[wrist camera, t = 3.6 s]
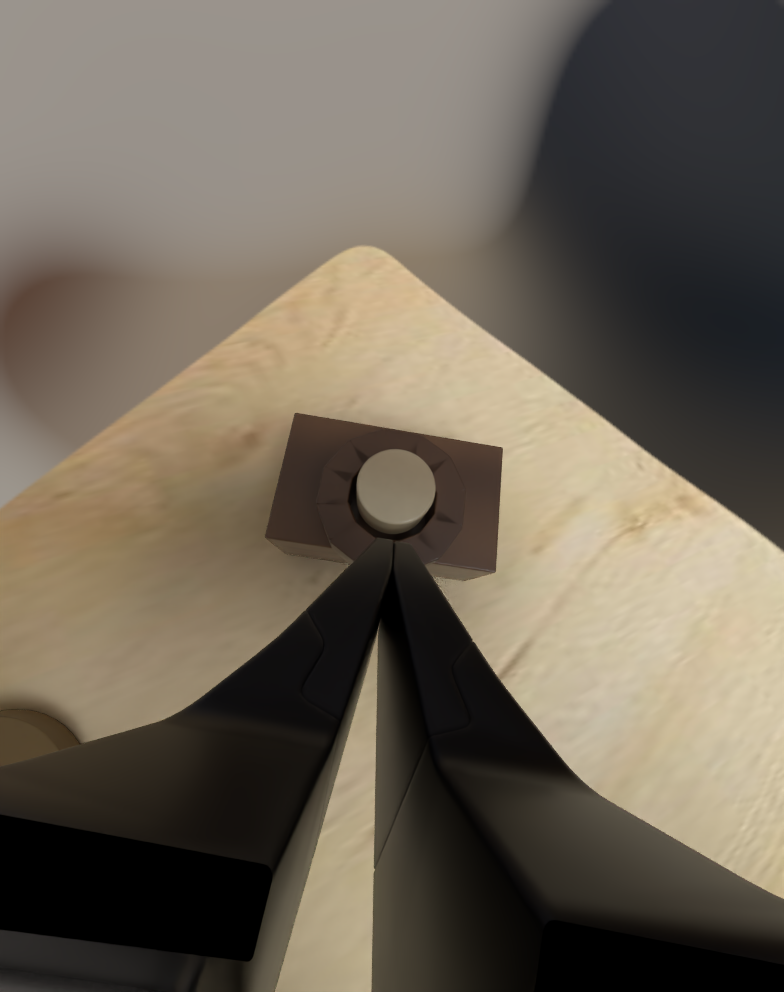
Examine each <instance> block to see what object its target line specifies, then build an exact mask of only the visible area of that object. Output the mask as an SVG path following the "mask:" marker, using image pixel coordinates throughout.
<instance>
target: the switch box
mask: <svg viewBox="0 0 784 992" xmlns="http://www.w3.org/2000/svg"><path fill="white" fill-rule="evenodd" d="M390 449H400V450H405V451H409V452H411V453H413V454H415V455H417V456H418V457H420V458H421V459H422V460H423V461H424V462H425V463H426V464H427V465H428V466H429V468H430V469H431V471H432V473H433V476H434V479H435V485H436V492H435V497H434V500H433V503H432V505H431V507H430V508H429V510H428V511H427V513H426V514H425V515H424V517H423V518H422V519H421V521H420V522H419V523H418V524H417V525H416V526H415V527H414V528H412V529H410V530H408V531H406V532H403V533H399V534H386V533H382V532H379V531H377V530H375V529H373V528H372V527H370V526H369V525H368V524H367V523H366V522H365V521H364V520H363V518H362V517H361V515H360V513H359V510H358V507H357V478H358V474H359V472H360V469H361V468H362V466H363V465H364V463H365V462H366V461H367V460H368V459H369V458H370V457H372V456H373V455H375V454H377V453H379V452H381V451H385V450H390ZM502 453H503V448H501V447H496V446H490V445H484V444H478V443H472V442H466V441H460V440H454V439H448V438H442V437H436V436H430V435H424V434H418V433H412V432H406V431H401V430H395V429H389V428H383V427H377V426H371V425H365V424H359V423H353V422H347V421H341V420H335V419H329V418H323V417H317V416H311V415H305V414H299V413H295V414H294V418H293V422H292V427H291V431H290V435H289V439H288V443H287V447H286V451H285V456H284V460H283V464H282V468H281V472H280V476H279V480H278V484H277V489H276V493H275V497H274V501H273V505H272V509H271V513H270V517H269V522H268V526H267V530H266V534H265V538H266V539H268V540H269V541H270V542H271V543H273V544H274V545H275V546H276V547H278V548H279V549H280V550H281V551H283V552H284V553H285V554H290V555H296V556H303V557H310V558H316V559H323V560H329V561H336V562H343V563H349V564H350V565H351V564H352V563H353V562H354V561H355V560H356V559H357V558H358V557H359V556H360V555H361V554H362V553H363V552H364V551H365V550H366V548H367V547H368V546H369V545H370V544H371V543H372V542H373V541H374V540H375V539H377V538H383V539H389V540H392V541H393V542H396V541H399V542H404V543H409V544H411V545H412V546H413V548H414V549H415V551H416V552H417V554H418V556H419V557H420V559H421V560H422V562H423V563H424V565H425V566H426V568H427V570H428V571H429V573H430V574H431V576H435V577H442V578H449V579H455V580H462V581H466V580H470V579H474V578H477V577H481V576H485V575H489V574H492V573H495V572H496V559H497V541H498V523H499V506H500V488H501V471H502Z"/></svg>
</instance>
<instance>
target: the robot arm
mask: <svg viewBox="0 0 784 992" xmlns="http://www.w3.org/2000/svg"><path fill="white" fill-rule="evenodd" d="M378 627H379V631H378ZM377 631H378V670H377V725H376V779H375V834H374V869H375V871H374V884H373V940H372V992H784V899H782V898H780V897H778V896H776V895H774V894H772V893H770V892H768V891H766V890H764V889H762V888H760V887H758V886H756V885H755V884H753V883H751V882H749V881H747V880H745V879H744V878H742V877H740V876H738V875H737V874H735V873H733V872H731V871H730V870H728V869H726V868H724V867H723V866H721V865H719V864H718V863H716V862H714V861H712V860H711V859H709V858H707V857H705V856H704V855H702V854H700V853H698V852H697V851H695V850H693V849H692V848H690V847H688V846H686V845H685V844H683V843H681V842H679V841H678V840H676V839H674V838H672V837H671V836H669V835H667V834H666V833H664V832H662V831H660V830H659V829H657V828H655V827H653V826H652V825H650V824H648V823H646V822H645V821H643V820H641V819H640V818H638V817H636V816H634V815H633V814H631V813H629V812H627V811H626V810H624V809H622V808H620V807H619V806H617V805H615V804H614V803H612V802H610V801H608V800H607V799H605V798H604V797H602V796H600V795H599V794H598V793H596V792H595V791H594V790H592V789H591V788H590V787H589V786H588V785H586V784H585V783H584V782H583V781H582V780H581V779H580V778H579V777H578V776H577V775H576V774H575V773H574V772H573V771H572V770H571V769H570V768H569V767H568V765H567V764H566V763H565V762H564V761H563V760H562V758H561V757H560V756H559V755H558V753H557V752H556V751H555V750H554V748H553V747H552V746H551V745H550V743H549V742H548V741H547V740H546V738H545V737H544V736H543V734H542V733H541V732H540V731H539V729H538V728H537V727H536V726H535V724H534V723H533V722H532V721H531V719H530V718H529V717H528V716H527V714H526V713H525V712H524V711H523V709H522V708H521V707H520V706H519V704H518V703H517V702H516V700H515V699H514V698H513V697H512V695H511V694H510V693H509V691H508V690H507V689H506V687H505V686H504V685H503V683H502V682H501V681H500V679H499V678H498V677H497V675H496V674H495V672H494V671H493V670H492V668H491V667H490V665H489V664H488V662H487V661H486V659H485V658H484V656H483V655H482V653H481V652H480V650H479V649H478V647H477V646H476V644H475V643H474V642H472V638H471V636H470V635H469V633H468V632H467V630H466V629H465V627H464V626H463V624H462V622H461V621H460V619H459V618H458V616H457V615H456V613H455V612H454V610H453V608H452V607H451V605H450V604H449V602H448V601H447V599H446V598H445V596H444V594H443V593H442V591H441V590H440V588H439V587H438V585H437V584H436V582H435V580H434V579H433V577H432V576H431V574H430V573H429V571H428V570H427V568H426V566H425V565H424V563H423V562H422V560H421V559H420V557H419V556H418V554H417V552H416V551H415V549H414V548H413V546H412V545H411V544H409V543H404V542H399V541H396V542H393V541H392V540H389V539H383V538H377V539H375V540H374V541H373V542H372V543H371V544H370V545H369V546H368V547H367V548H366V550H365V551H364V552H363V553H362V554H361V555H360V556H359V557H358V558H357V559H356V560H355V561H354V562H353V563H352V564H351V565H350V566H349V567H348V568H347V569H346V570H345V571H344V572H343V573H342V574H341V575H340V576H339V577H338V578H337V579H336V580H335V581H334V582H333V583H332V584H331V585H330V586H329V587H328V588H327V589H326V590H325V591H324V592H323V593H322V594H321V595H320V596H319V597H318V598H317V599H316V600H315V601H314V602H313V603H312V604H311V605H310V606H309V607H308V608H307V609H306V611H304V612H303V613H302V614H301V615H300V616H299V617H298V618H297V619H296V620H295V621H294V622H293V623H292V624H291V625H290V626H289V627H288V628H287V629H286V630H284V631H283V632H282V633H281V634H280V635H279V636H278V637H277V638H276V639H275V640H273V641H272V642H271V643H270V644H268V645H267V646H266V647H265V648H264V649H262V650H261V651H260V652H259V653H257V654H256V655H255V656H254V657H252V658H251V659H250V660H249V661H247V662H246V663H245V664H243V665H242V666H241V667H240V668H238V669H237V670H236V671H234V672H233V673H232V674H231V675H229V676H228V677H227V678H225V679H224V680H223V681H221V682H220V683H219V684H218V685H216V686H215V687H214V688H212V689H211V690H210V691H209V692H207V693H206V694H205V695H203V696H202V697H201V698H200V699H198V700H197V701H195V702H194V703H193V704H191V705H190V706H188V707H186V708H185V709H183V710H182V711H180V712H178V713H176V714H174V715H172V716H171V717H168V718H166V719H164V720H162V721H159V722H156V723H153V724H149V725H146V726H142V727H139V728H135V729H132V730H128V731H125V732H121V733H118V734H114V735H111V736H108V737H104V738H101V739H97V740H94V741H90V742H87V743H83V744H80V745H76V746H73V747H69V748H66V749H62V750H59V751H56V752H52V753H49V754H45V755H42V756H38V757H35V758H31V759H28V760H24V761H20V762H16V763H12V764H8V765H4V766H0V992H275V989H276V985H277V982H278V978H279V975H280V971H281V968H282V964H283V961H284V957H285V954H286V950H287V947H288V943H289V940H290V936H291V933H292V929H293V926H294V922H295V919H296V915H297V912H298V908H299V905H300V901H301V898H302V894H303V891H304V887H305V884H306V880H307V877H308V873H309V870H310V866H311V863H312V858H313V856H314V852H315V849H316V845H317V842H318V838H319V835H320V831H321V828H322V824H323V821H324V817H325V814H326V810H327V807H328V803H329V800H330V796H331V793H332V789H333V786H334V782H335V779H336V776H337V772H338V769H339V765H340V762H341V758H342V755H343V751H344V748H345V744H346V741H347V737H348V734H349V730H350V727H351V723H352V720H353V716H354V713H355V709H356V706H357V702H358V699H359V695H360V692H361V688H362V685H363V681H364V678H365V674H366V671H367V667H368V664H369V660H370V657H371V653H372V650H373V646H374V643H375V639H376V635H377Z"/></svg>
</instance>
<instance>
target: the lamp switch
mask: <svg viewBox="0 0 784 992" xmlns="http://www.w3.org/2000/svg"><path fill="white" fill-rule="evenodd" d="M435 492H436V485H435V479H434V476H433V473H432V471H431V469H430V468H429V466H428V465H427V464H426V463H425V462H424V461H423V460H422V459H421V458H420V457H418V456H417V455H415V454H413V453H411V452H409V451H405V450H400V449H390V450H385V451H381V452H379V453H377V454H375V455H373V456H372V457H370V458H369V459H368V460H367V461H366V462H365V463H364V465H363V466H362V468H361V469H360V472H359V474H358V478H357V507H358V510H359V513H360V515H361V517H362V518H363V520H364V521H365V522H366V523H367V524H368V525H369V526H370V527H372V528H373V529H375V530H377V531H379V532H382V533H386V534H399V533H403V532H406V531H408V530H410V529H412V528H414V527H415V526H416V525H417V524H418V523H419V522H420V521H421V519H422V518H423V517H424V515H425V514H426V513H427V511H428V510H429V508H430V507H431V505H432V503H433V500H434V497H435Z"/></svg>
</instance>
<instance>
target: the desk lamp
mask: <svg viewBox="0 0 784 992" xmlns="http://www.w3.org/2000/svg"><path fill="white" fill-rule="evenodd" d="M76 745H80V744H79V742H78V741H77V740H76V738H75V737H74V735H73V734H72V733H71V732H70V731H69V730H68V729H67V728H66V727H65V726H64V725H63V724H61V723H60V722H59V721H57V720H55V719H54V718H52V717H50V716H48V715H45V714H42V713H39V712H36V711H30V710H20V709H11V710H2V711H0V766H4V765H8V764H12V763H16V762H20V761H24V760H28V759H31V758H35V757H38V756H42V755H45V754H49V753H52V752H56V751H59V750H62V749H66V748H69V747H73V746H76Z"/></svg>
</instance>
